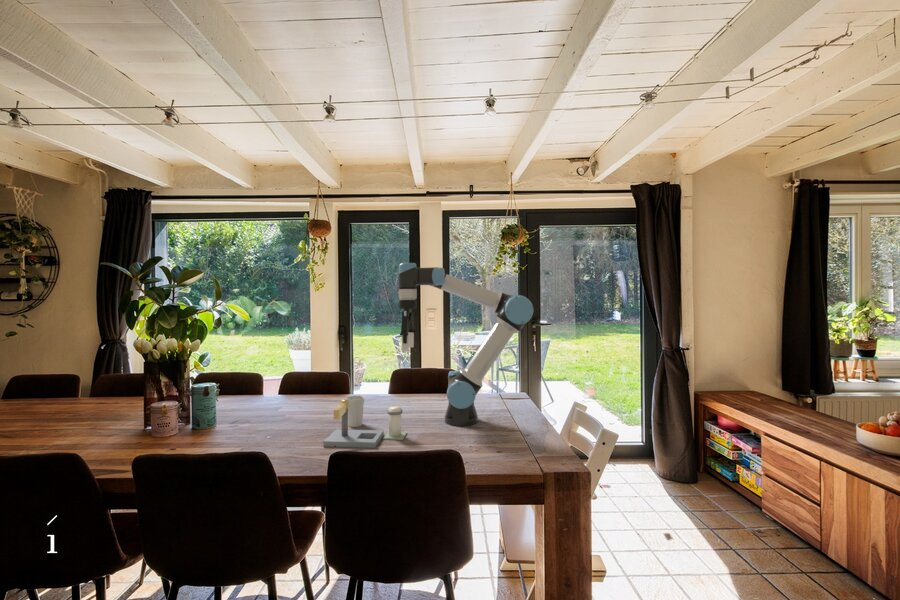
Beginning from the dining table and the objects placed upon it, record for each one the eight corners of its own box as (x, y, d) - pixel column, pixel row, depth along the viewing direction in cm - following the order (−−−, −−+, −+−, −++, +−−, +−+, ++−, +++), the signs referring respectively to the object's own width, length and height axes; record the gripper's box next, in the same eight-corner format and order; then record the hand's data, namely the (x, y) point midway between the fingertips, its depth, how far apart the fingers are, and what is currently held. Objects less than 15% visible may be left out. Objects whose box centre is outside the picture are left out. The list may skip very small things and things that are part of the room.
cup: (359, 427, 177) (359, 400, 177) (342, 426, 179) (342, 399, 178) (367, 422, 185) (367, 396, 185) (350, 421, 186) (350, 395, 186)
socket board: (383, 435, 168) (383, 406, 167) (375, 447, 154) (374, 416, 153) (336, 434, 169) (336, 405, 169) (323, 446, 155) (323, 415, 155)
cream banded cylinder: (403, 432, 169) (403, 406, 169) (401, 437, 163) (400, 410, 163) (389, 432, 169) (389, 405, 169) (386, 437, 163) (386, 409, 163)
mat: (406, 433, 170) (406, 431, 170) (403, 439, 162) (403, 438, 162) (387, 432, 170) (387, 431, 170) (383, 439, 162) (383, 438, 162)
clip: (340, 419, 149) (340, 408, 149) (332, 419, 149) (331, 408, 149) (349, 409, 163) (349, 399, 163) (341, 409, 163) (341, 399, 163)
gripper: (404, 299, 186) (404, 345, 186) (393, 299, 161) (393, 353, 161) (420, 299, 185) (420, 345, 186) (411, 299, 160) (412, 353, 161)
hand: (408, 349), depth 173 cm, fingers open, 13 cm apart
